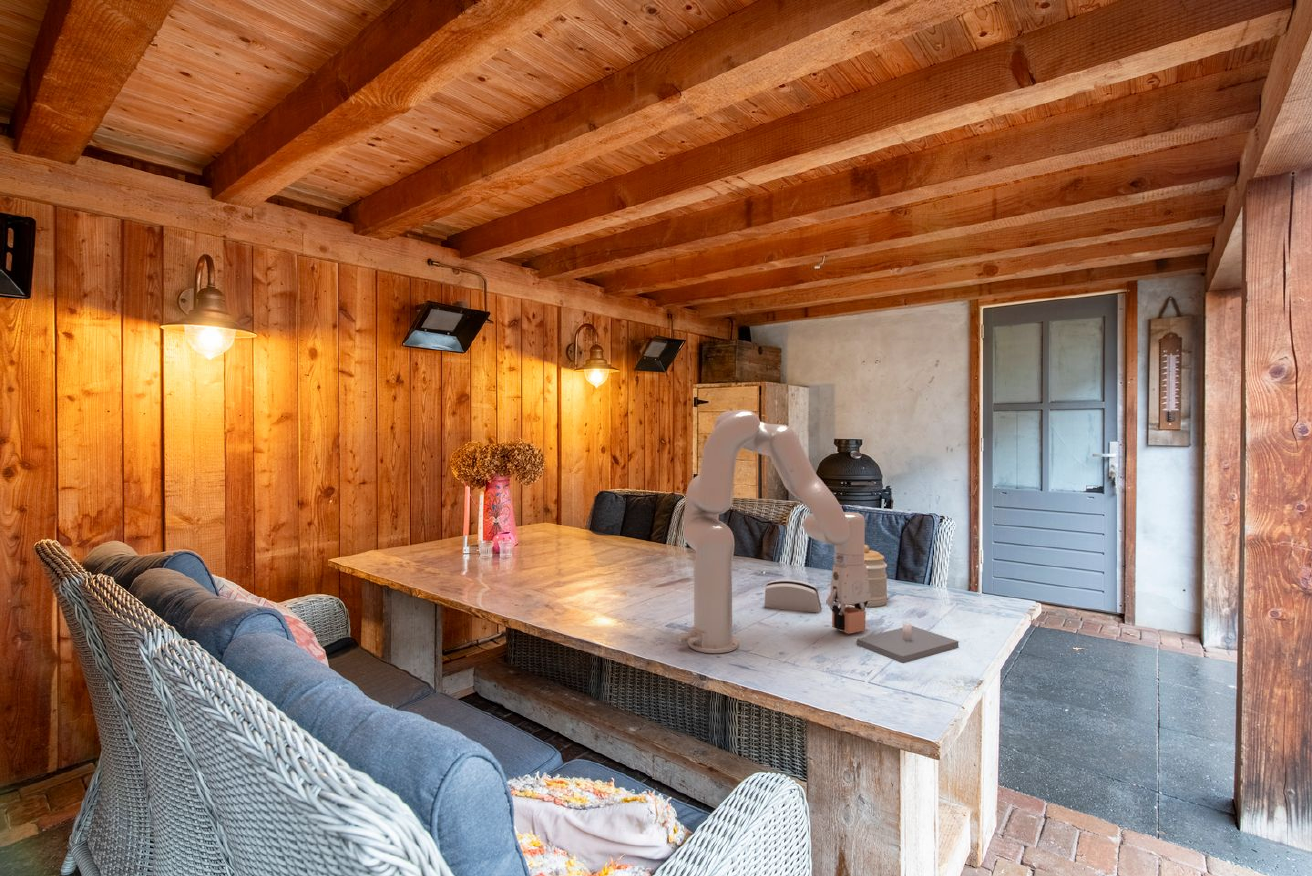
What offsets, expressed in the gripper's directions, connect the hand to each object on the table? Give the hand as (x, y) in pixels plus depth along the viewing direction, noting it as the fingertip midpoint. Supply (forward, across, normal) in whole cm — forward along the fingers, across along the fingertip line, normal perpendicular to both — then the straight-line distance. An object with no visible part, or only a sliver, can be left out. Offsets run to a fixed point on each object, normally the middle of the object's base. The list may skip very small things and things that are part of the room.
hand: (848, 626), depth 170 cm
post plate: (+1, +4, -15) cm, 16 cm away
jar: (+1, +26, +18) cm, 31 cm away
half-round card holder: (+2, +1, +24) cm, 24 cm away
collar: (+1, 0, 0) cm, 1 cm away
